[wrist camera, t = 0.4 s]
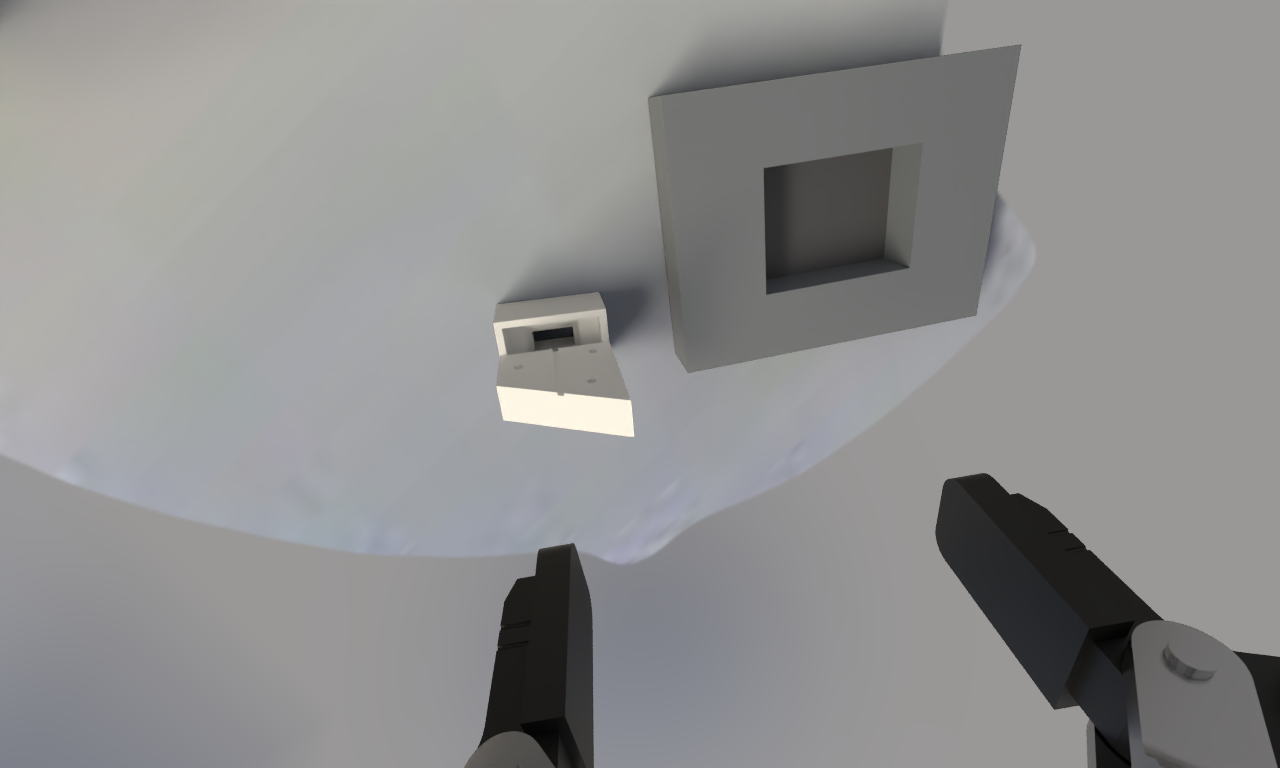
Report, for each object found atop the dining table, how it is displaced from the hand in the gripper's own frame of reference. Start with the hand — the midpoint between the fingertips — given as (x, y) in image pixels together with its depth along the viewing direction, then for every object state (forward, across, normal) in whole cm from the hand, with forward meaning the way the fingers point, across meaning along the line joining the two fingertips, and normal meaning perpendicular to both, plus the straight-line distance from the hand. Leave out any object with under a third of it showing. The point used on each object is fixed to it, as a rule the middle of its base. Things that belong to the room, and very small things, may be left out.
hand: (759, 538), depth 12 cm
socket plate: (+23, -10, 0) cm, 25 cm away
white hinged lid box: (+21, +6, +3) cm, 22 cm away
